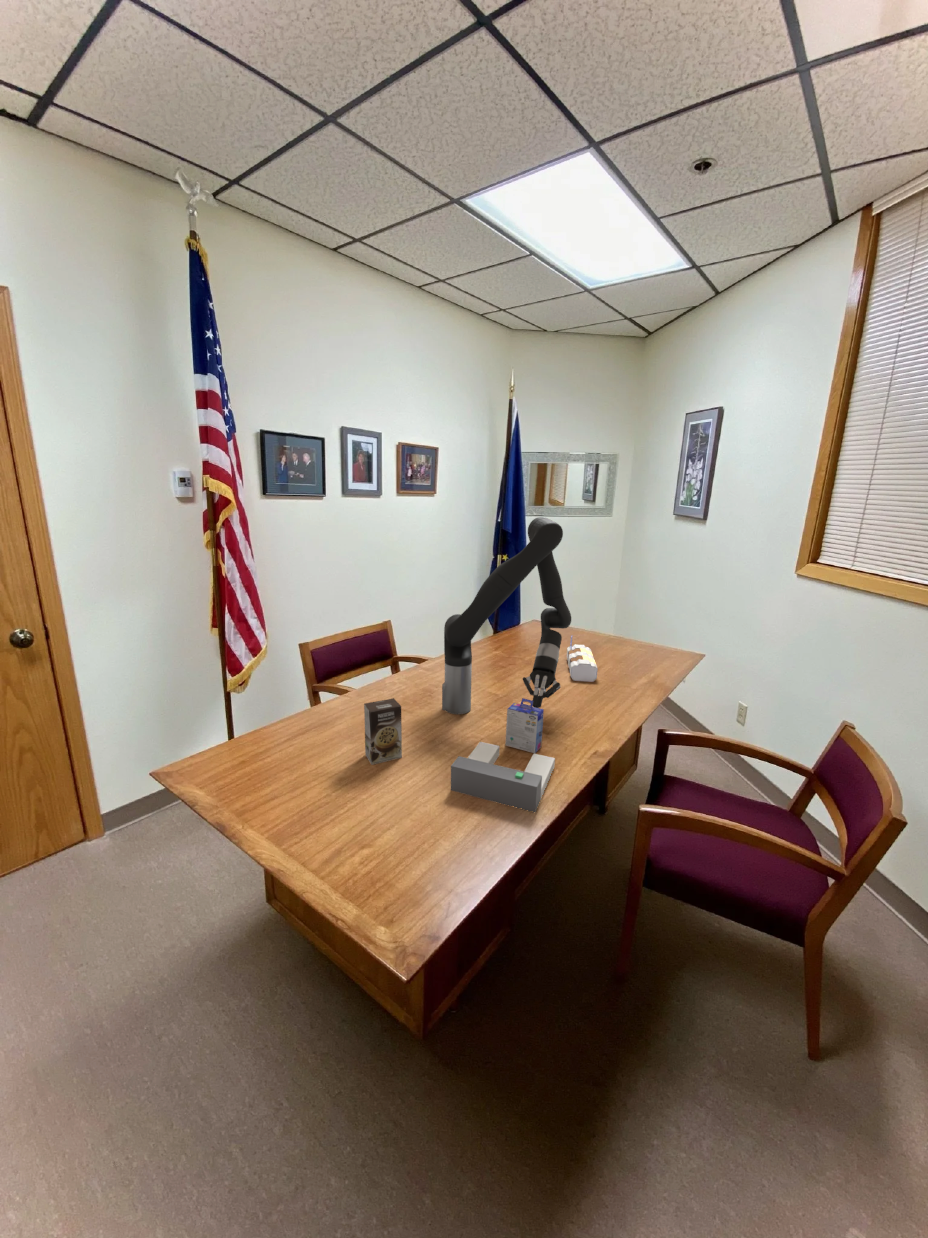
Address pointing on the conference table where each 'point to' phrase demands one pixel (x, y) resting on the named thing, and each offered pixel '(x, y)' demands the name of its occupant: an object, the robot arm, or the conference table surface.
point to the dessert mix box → (383, 731)
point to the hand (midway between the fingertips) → (535, 707)
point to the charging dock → (501, 778)
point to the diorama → (582, 664)
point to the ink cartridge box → (524, 726)
